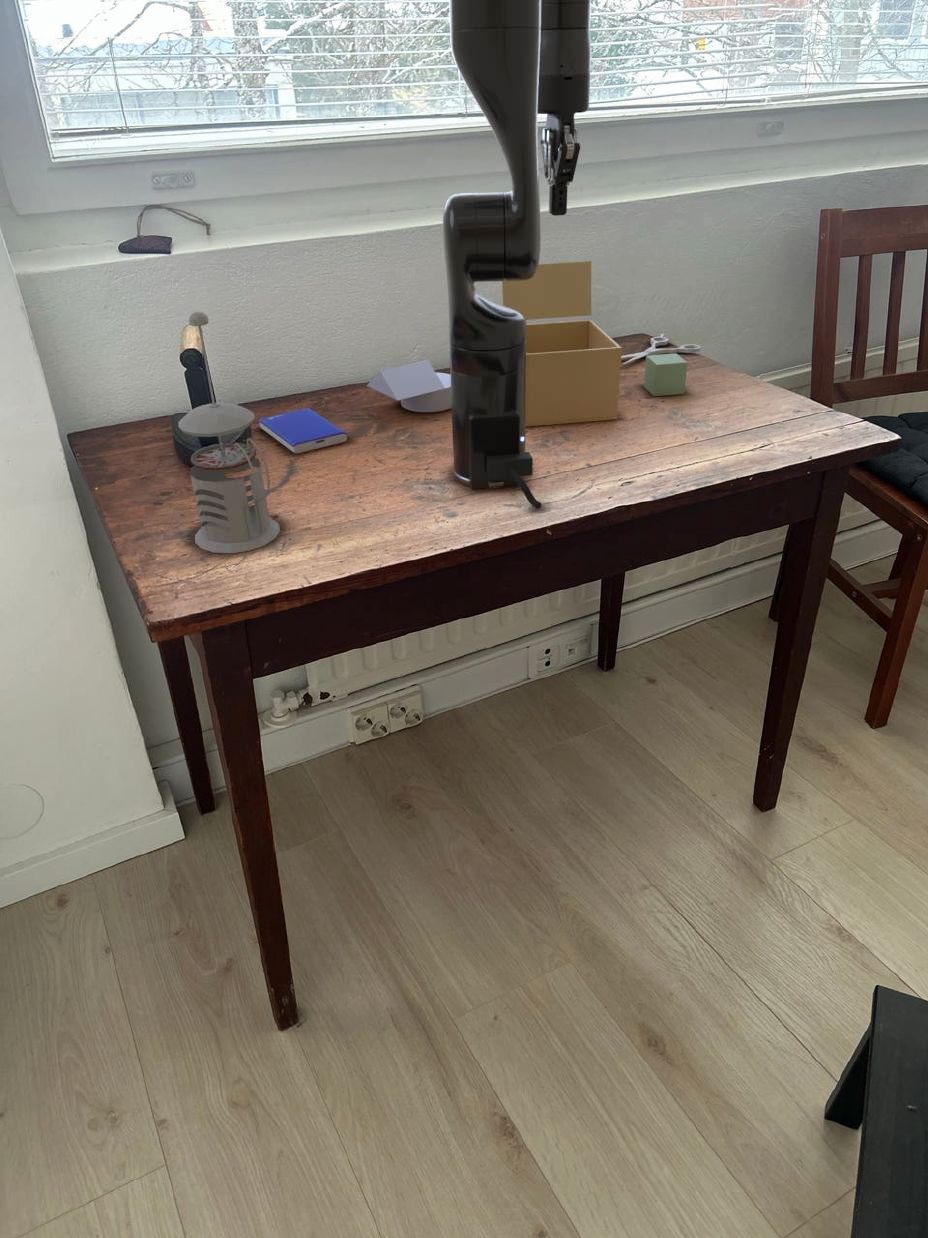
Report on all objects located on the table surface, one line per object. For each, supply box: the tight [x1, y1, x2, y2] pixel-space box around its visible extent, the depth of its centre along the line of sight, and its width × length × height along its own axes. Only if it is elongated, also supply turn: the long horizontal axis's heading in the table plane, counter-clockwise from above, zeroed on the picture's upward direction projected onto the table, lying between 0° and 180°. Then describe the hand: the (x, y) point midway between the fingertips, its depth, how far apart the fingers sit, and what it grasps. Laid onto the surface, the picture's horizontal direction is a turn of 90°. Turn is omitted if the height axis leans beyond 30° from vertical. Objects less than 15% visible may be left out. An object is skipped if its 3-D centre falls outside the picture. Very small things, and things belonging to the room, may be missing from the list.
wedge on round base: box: [366, 359, 452, 413], centre depth 138 cm, size 9×7×13 cm
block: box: [643, 352, 689, 397], centre depth 141 cm, size 5×5×5 cm
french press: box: [177, 311, 281, 554], centre depth 96 cm, size 10×12×25 cm
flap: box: [501, 260, 592, 321], centre depth 137 cm, size 8×14×1 cm
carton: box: [525, 319, 623, 428], centre depth 135 cm, size 16×14×10 cm
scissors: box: [621, 333, 701, 366], centre depth 158 cm, size 11×1×20 cm
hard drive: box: [258, 407, 348, 455], centre depth 129 cm, size 2×8×12 cm
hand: (557, 214), depth 126 cm, fingers closed
